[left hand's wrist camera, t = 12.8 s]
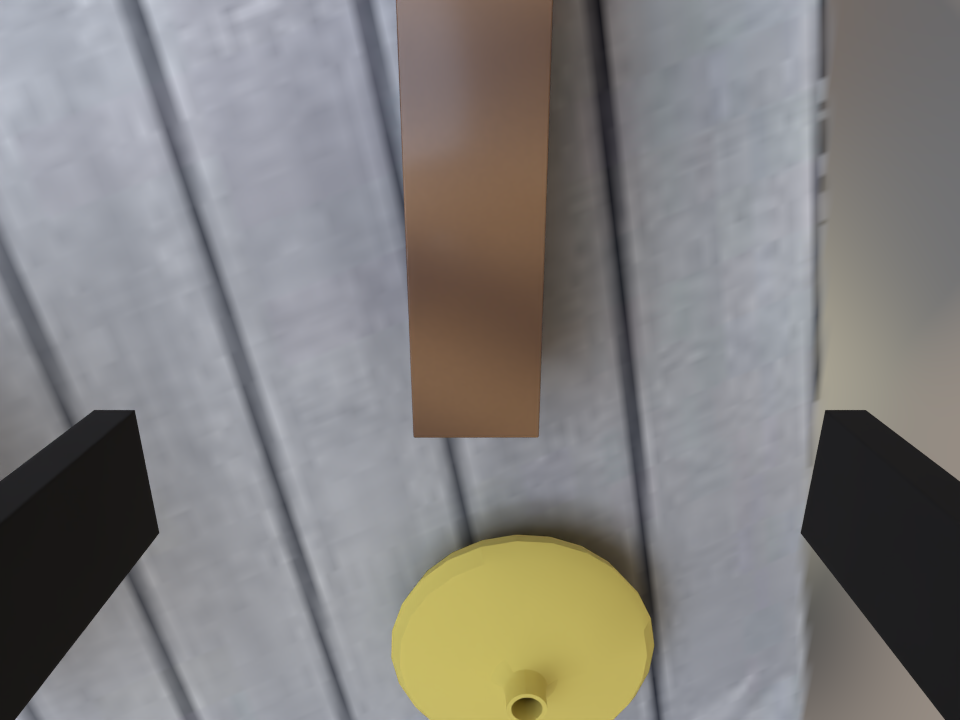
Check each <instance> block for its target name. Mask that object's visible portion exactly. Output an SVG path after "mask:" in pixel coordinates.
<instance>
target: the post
mask: <svg viewBox="0 0 960 720" xmlns="http://www.w3.org/2000/svg"><path fill="white" fill-rule="evenodd" d="M396 14H397V38H398V63H399V88H400V113H401V138H402V162H403V187H404V212H405V237H406V261H407V286H408V311H409V336H410V360H411V385H412V410H413V435H414V437H415V438H421V437H538V436H539V413H540V383H541V353H542V322H543V292H544V262H545V232H546V202H547V172H548V142H549V111H550V81H551V51H552V21H553V0H396Z"/></svg>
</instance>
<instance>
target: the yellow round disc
mask: <svg viewBox="0 0 960 720" xmlns="http://www.w3.org/2000/svg"><path fill="white" fill-rule="evenodd" d="M653 649H654V640H653V632H652V624H651V618H650V616H649V614H648V612H647V610H646V608H645V606H644V604H643V602H642V600H641V598H640V596H639V594H638V592H637V591H636V590H635V589H634V588H633V587H632V586H631V585H630V584H629V583H628V582H627V581H626V580H625V578H624V577H623V576H622V575H621V574H620V573H619V572H618V571H617V570H616V569H615V568H614V567H613V566H612V565H611V564H610V563H609V562H608V561H606V560H605V559H603V558H601V557H599V556H598V555H596V554H594V553H593V552H591V551H589V550H588V549H586V548H584V547H582V546H580V545H577V544H573V543H570V542H566V541H563V540H560V539H556V538H553V537H547V536H531V535H511V536H505V537H499V538H492V539H486V540H482V541H479V542H477V543H474V544H472V545H469V546H467V547H465V548H462V549H460V550H457V551H455V552H452V553H451V554H450V555H448V556H447V557H446V558H444V559H443V560H441V561H440V562H439V563H437V564H436V565H435V566H433V567H432V568H431V569H429V570H428V571H427V572H426V573H425V575H424V576H423V577H422V578H421V580H420V581H419V582H418V583H417V585H416V586H415V587H414V589H413V590H412V591H411V592H410V594H409V595H408V597H407V598H406V599H405V601H404V602H403V604H402V606H401V609H400V611H399V614H398V617H397V619H396V622H395V625H394V627H393V630H392V653H391V658H392V662H393V665H394V668H395V671H396V675H397V678H398V681H399V684H400V685H401V687H402V688H403V690H404V691H405V693H406V694H407V695H408V697H409V698H410V700H411V701H412V703H413V704H414V706H415V707H416V708H417V709H418V710H419V711H420V712H422V713H423V714H424V715H425V716H426V717H427V718H429V719H430V720H613V719H614V718H615V717H616V716H617V715H618V714H619V713H620V712H621V711H622V710H623V709H624V708H625V707H626V706H627V705H628V704H629V703H630V702H631V701H632V699H633V698H634V697H635V696H636V694H637V692H638V690H639V688H640V687H641V685H642V683H643V681H644V679H645V678H646V676H647V674H648V672H649V668H650V663H651V659H652V654H653Z"/></svg>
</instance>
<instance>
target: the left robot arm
mask: <svg viewBox="0 0 960 720" xmlns="http://www.w3.org/2000/svg"><path fill="white" fill-rule="evenodd" d="M158 534H159V529H158V524H157V519H156V514H155V509H154V504H153V500H152V495H151V490H150V485H149V480H148V475H147V470H146V465H145V460H144V455H143V450H142V445H141V440H140V435H139V430H138V425H137V420H136V415H135V410H94V411H93V412H91V413H90V414H89V415H87V416H86V417H85V418H83V419H82V420H81V421H79V422H78V423H77V424H75V425H74V426H73V427H71V428H70V429H69V430H68V431H66V432H65V433H64V434H62V435H61V436H60V437H58V438H57V439H56V440H54V441H53V442H52V443H50V444H49V445H48V446H46V447H45V448H44V449H42V450H41V451H40V452H38V453H37V454H36V455H35V456H33V457H32V458H31V459H29V460H28V461H27V462H25V463H24V464H23V465H21V466H20V467H19V468H17V469H16V470H15V471H13V472H12V473H11V474H9V475H8V476H7V477H5V478H4V479H3V480H2V481H0V720H15V719H16V718H17V716H18V715H19V714H20V713H21V711H22V710H23V709H24V707H25V706H26V705H27V703H28V702H29V701H30V700H31V698H32V697H33V696H34V694H35V693H36V692H37V691H38V689H39V688H40V687H41V685H42V684H43V683H44V681H45V680H46V679H47V678H48V676H49V675H50V674H51V672H52V671H53V670H54V669H55V667H56V666H57V665H58V663H59V662H60V661H61V659H62V658H63V657H64V656H65V654H66V653H67V652H68V650H69V649H70V648H71V647H72V645H73V644H74V643H75V641H76V640H77V639H78V637H79V636H80V635H81V634H82V632H83V631H84V630H85V628H86V627H87V626H88V625H89V623H90V622H91V621H92V619H93V618H94V617H95V615H96V614H97V613H98V612H99V610H100V609H101V608H102V606H103V605H104V604H105V603H106V601H107V600H108V599H109V597H110V596H111V595H112V593H113V592H114V591H115V590H116V588H117V587H118V586H119V584H120V583H121V582H122V581H123V579H124V578H125V577H126V575H127V574H128V573H129V572H130V570H131V569H132V568H133V566H134V565H135V564H136V562H137V561H138V560H139V559H140V557H141V556H142V555H143V553H144V552H145V551H146V550H147V548H148V547H149V546H150V544H151V543H152V542H153V540H154V539H155V538H156V537H157V535H158ZM801 534H802V535H803V537H804V538H805V539H806V540H807V542H808V543H809V544H810V546H811V547H812V548H813V550H814V551H815V552H816V553H817V555H818V556H819V557H820V559H821V560H822V561H823V562H824V564H825V565H826V566H827V568H828V569H829V570H830V571H831V573H832V574H833V575H834V577H835V578H836V579H837V581H838V582H839V583H840V584H841V586H842V587H843V588H844V590H845V591H846V592H847V593H848V595H849V596H850V597H851V599H852V600H853V601H854V603H855V604H856V605H857V606H858V608H859V609H860V610H861V612H862V613H863V614H864V615H865V617H866V618H867V619H868V621H869V622H870V623H871V624H872V626H873V627H874V628H875V630H876V631H877V632H878V634H879V635H880V636H881V637H882V639H883V640H884V641H885V643H886V644H887V645H888V646H889V648H890V649H891V650H892V652H893V653H894V654H895V656H896V657H897V658H898V659H899V661H900V662H901V663H902V665H903V666H904V667H905V669H906V670H907V671H908V672H909V674H910V675H911V676H912V678H913V679H914V680H915V681H916V683H917V684H918V685H919V687H920V688H921V689H922V691H923V692H924V693H925V694H926V696H927V697H928V698H929V700H930V701H931V702H932V703H933V705H934V706H935V707H936V709H937V710H938V711H939V712H940V714H941V715H942V716H943V718H944V719H945V720H960V481H958V480H957V479H956V478H954V477H953V476H952V475H950V474H949V473H948V472H947V471H945V470H944V469H943V468H941V467H940V466H939V465H937V464H936V463H935V462H933V461H932V460H931V459H929V458H928V457H927V456H925V455H924V454H923V453H922V452H920V451H919V450H918V449H916V448H915V447H914V446H912V445H911V444H910V443H908V442H907V441H906V440H904V439H903V438H902V437H900V436H899V435H898V434H896V433H895V432H894V431H892V430H891V429H890V428H889V427H887V426H886V425H885V424H883V423H882V422H881V421H879V420H878V419H877V418H875V417H874V416H873V415H871V414H870V413H869V412H867V411H866V410H825V415H824V420H823V425H822V430H821V435H820V440H819V445H818V450H817V455H816V460H815V465H814V470H813V475H812V480H811V485H810V490H809V495H808V499H807V504H806V509H805V514H804V519H803V524H802V529H801Z"/></svg>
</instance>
